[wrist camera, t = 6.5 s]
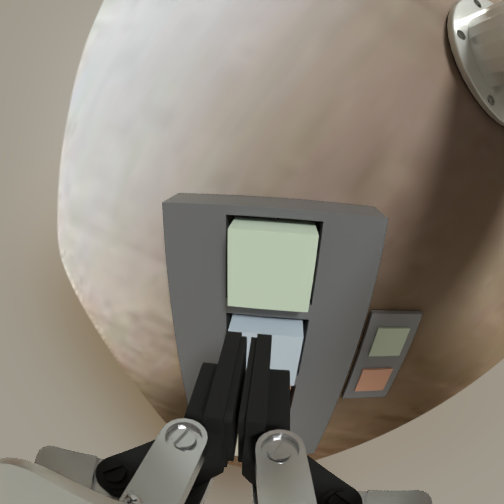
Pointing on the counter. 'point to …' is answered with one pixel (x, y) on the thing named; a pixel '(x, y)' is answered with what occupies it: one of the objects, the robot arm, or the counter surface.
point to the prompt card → (381, 352)
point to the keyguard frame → (314, 321)
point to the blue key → (274, 338)
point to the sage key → (271, 263)
